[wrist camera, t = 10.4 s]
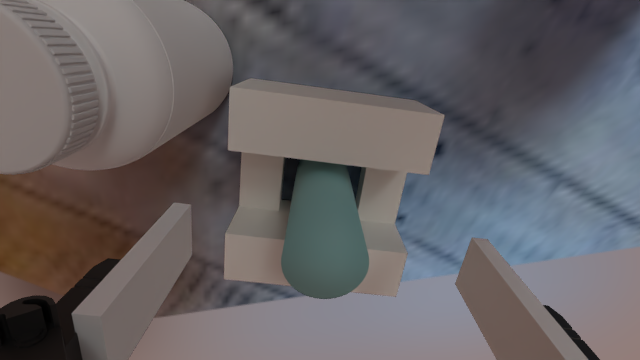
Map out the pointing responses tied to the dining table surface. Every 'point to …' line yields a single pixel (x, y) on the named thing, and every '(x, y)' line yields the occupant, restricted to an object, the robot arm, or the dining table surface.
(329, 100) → the socket
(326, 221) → the peg
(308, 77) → the dining table surface
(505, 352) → the robot arm
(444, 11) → the dining table surface
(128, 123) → the pill bottle
